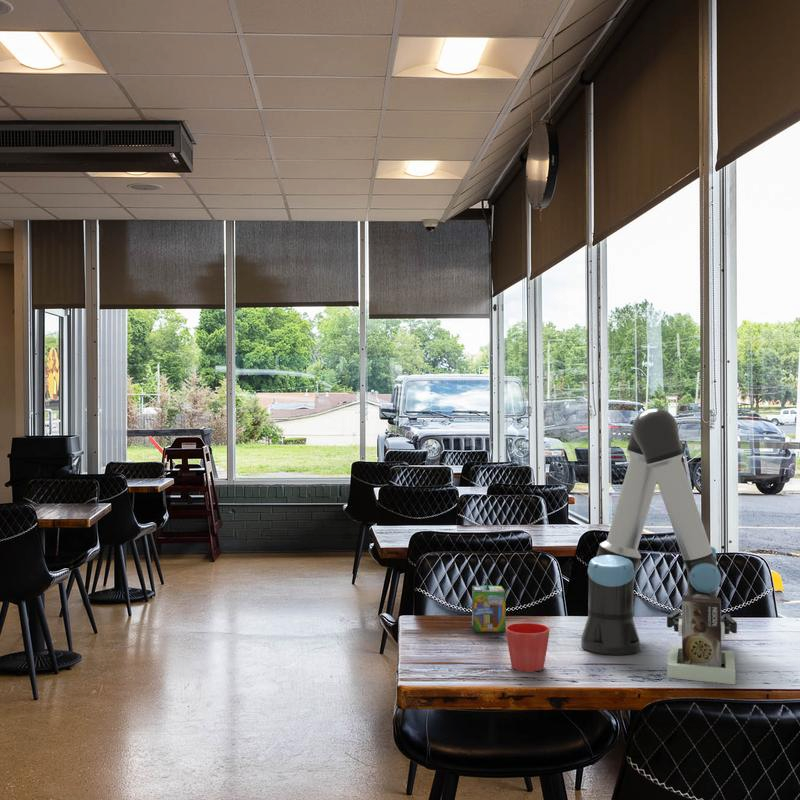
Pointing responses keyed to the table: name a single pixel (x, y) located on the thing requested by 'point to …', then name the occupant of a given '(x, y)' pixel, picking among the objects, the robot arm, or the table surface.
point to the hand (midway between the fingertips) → (701, 632)
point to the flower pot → (527, 645)
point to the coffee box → (701, 631)
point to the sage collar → (701, 668)
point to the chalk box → (488, 608)
